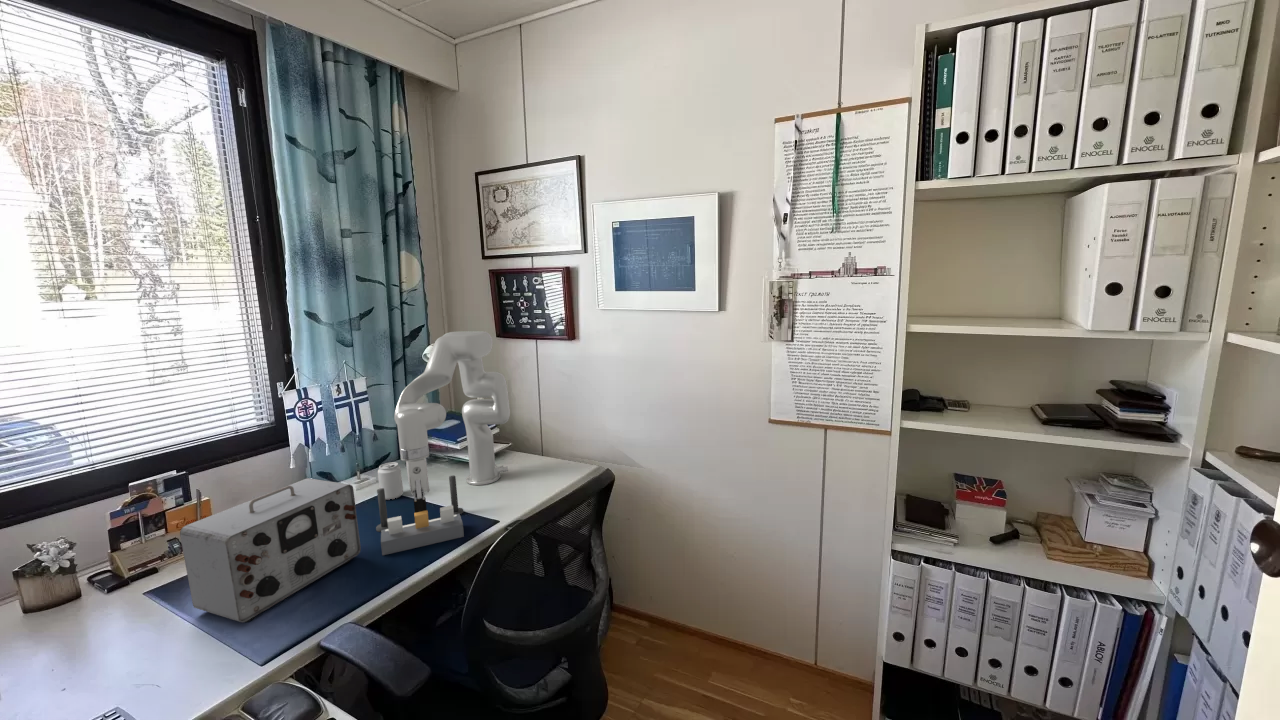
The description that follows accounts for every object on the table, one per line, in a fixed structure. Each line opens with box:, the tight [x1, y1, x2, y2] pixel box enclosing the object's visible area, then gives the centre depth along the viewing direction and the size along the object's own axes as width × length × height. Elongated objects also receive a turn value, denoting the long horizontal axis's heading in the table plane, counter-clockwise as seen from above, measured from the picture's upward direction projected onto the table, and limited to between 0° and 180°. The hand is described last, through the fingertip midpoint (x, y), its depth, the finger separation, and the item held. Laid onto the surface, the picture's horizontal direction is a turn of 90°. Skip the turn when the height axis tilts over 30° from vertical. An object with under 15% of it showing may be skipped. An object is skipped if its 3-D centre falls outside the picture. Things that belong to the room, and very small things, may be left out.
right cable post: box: [448, 475, 464, 515], centre depth 167 cm, size 5×5×13 cm
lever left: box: [387, 515, 403, 535], centre depth 146 cm, size 4×1×6 cm, turn 116°
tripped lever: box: [413, 509, 430, 529], centre depth 149 cm, size 4×1×6 cm, turn 116°
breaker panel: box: [380, 514, 465, 556], centre depth 151 cm, size 22×8×4 cm, turn 116°
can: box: [377, 461, 404, 501], centre depth 183 cm, size 8×8×12 cm
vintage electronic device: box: [179, 477, 362, 623], centre depth 129 cm, size 32×18×25 cm, turn 160°
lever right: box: [439, 504, 454, 523], centre depth 152 cm, size 4×1×6 cm, turn 116°
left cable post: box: [375, 488, 388, 533], centre depth 158 cm, size 5×5×13 cm
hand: (420, 511), depth 149 cm, fingers closed
